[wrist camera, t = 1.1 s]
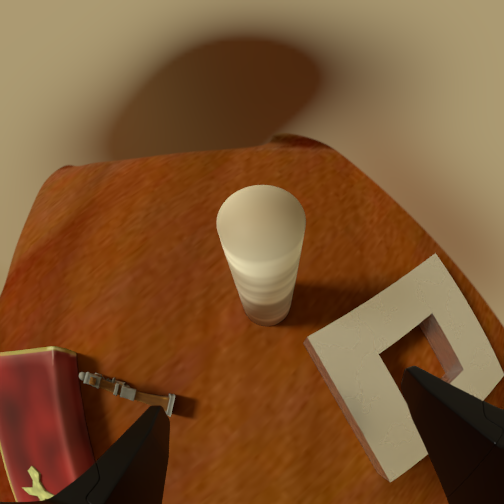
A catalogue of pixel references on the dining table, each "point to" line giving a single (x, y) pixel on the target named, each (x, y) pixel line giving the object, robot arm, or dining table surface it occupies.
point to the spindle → (263, 248)
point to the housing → (377, 375)
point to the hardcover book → (42, 422)
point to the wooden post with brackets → (128, 391)
